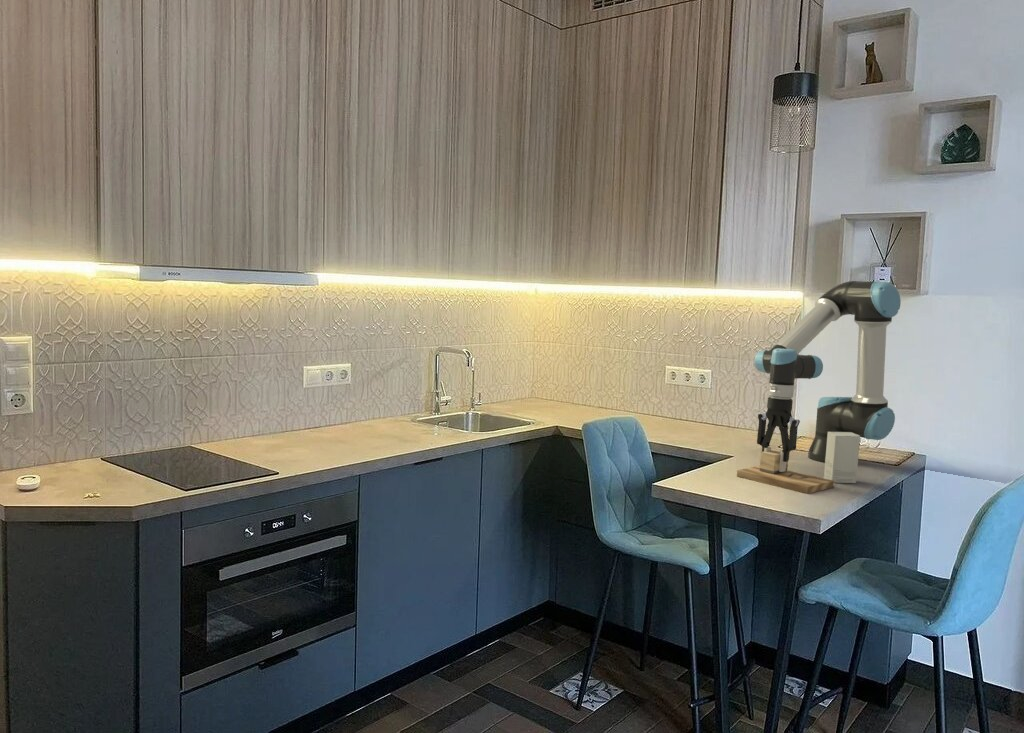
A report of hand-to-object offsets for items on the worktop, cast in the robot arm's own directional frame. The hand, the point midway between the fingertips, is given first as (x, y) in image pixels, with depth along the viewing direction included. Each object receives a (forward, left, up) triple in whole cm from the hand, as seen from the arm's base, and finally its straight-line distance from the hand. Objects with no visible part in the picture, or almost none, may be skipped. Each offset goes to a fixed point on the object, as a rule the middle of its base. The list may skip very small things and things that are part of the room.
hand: (773, 469), depth 252 cm
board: (+2, +5, -3) cm, 6 cm away
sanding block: (0, 0, 0) cm, 1 cm away
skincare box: (-16, +14, -3) cm, 21 cm away
